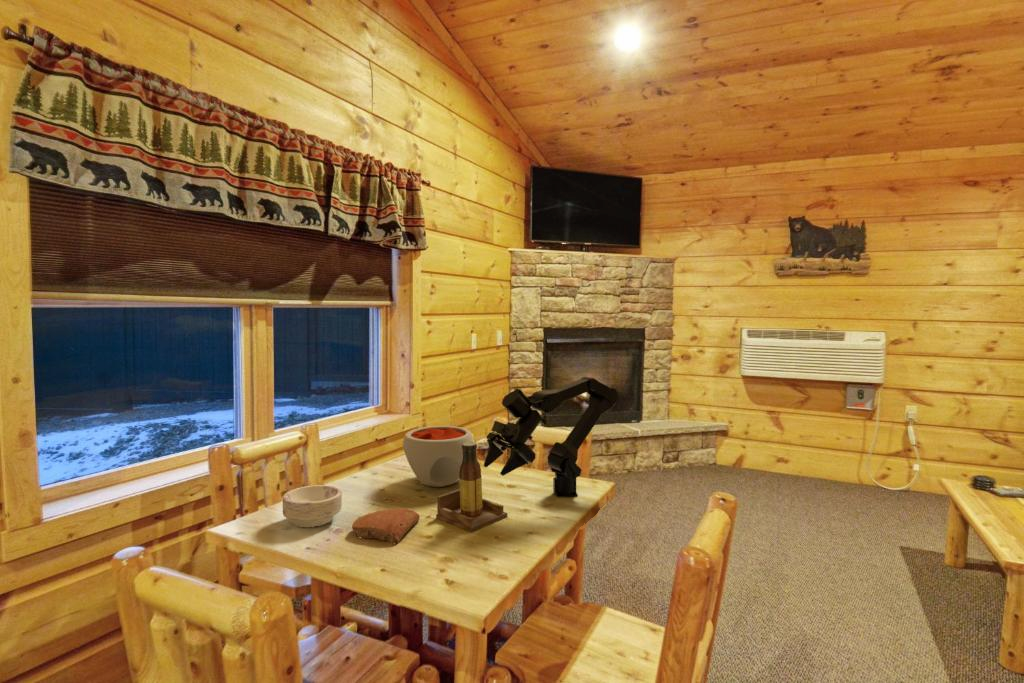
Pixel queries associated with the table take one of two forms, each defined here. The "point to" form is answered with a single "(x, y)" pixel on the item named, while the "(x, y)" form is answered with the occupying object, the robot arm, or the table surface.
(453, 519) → the brown wooden tray
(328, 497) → the beige round bowl
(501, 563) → the table surface
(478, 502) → the sauce bottle
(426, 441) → the pot
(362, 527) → the brown rounded slab
